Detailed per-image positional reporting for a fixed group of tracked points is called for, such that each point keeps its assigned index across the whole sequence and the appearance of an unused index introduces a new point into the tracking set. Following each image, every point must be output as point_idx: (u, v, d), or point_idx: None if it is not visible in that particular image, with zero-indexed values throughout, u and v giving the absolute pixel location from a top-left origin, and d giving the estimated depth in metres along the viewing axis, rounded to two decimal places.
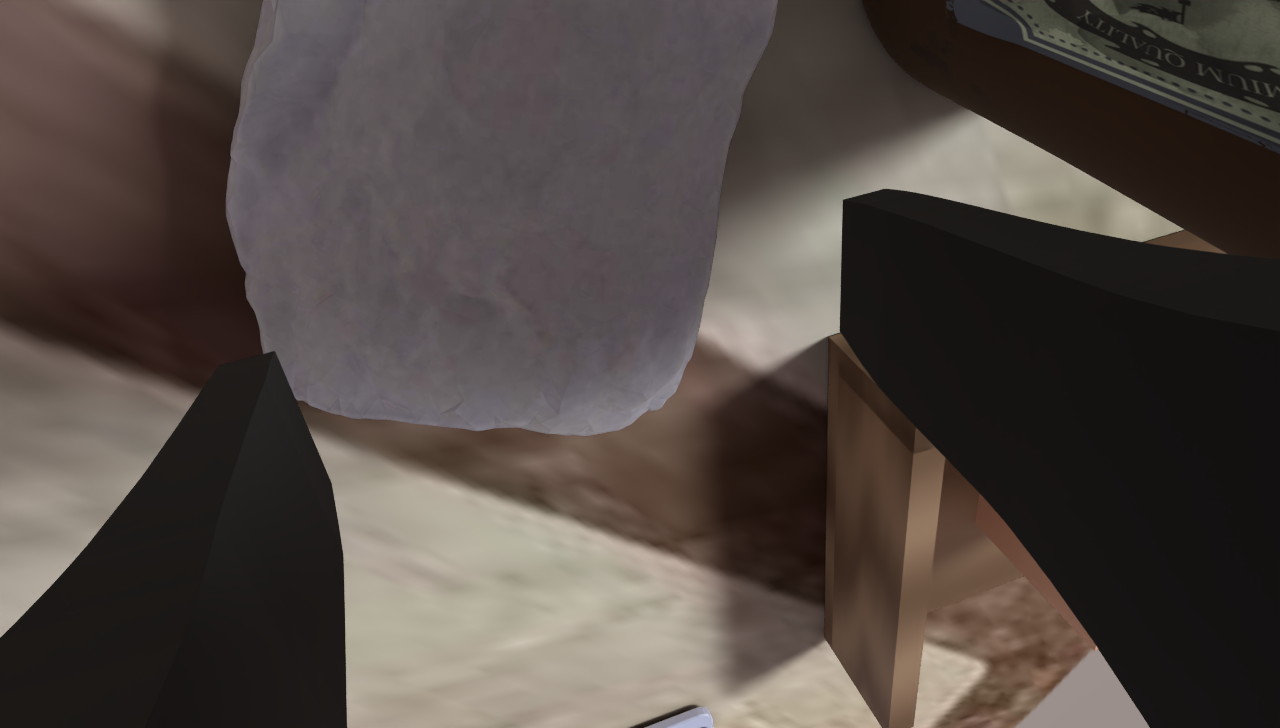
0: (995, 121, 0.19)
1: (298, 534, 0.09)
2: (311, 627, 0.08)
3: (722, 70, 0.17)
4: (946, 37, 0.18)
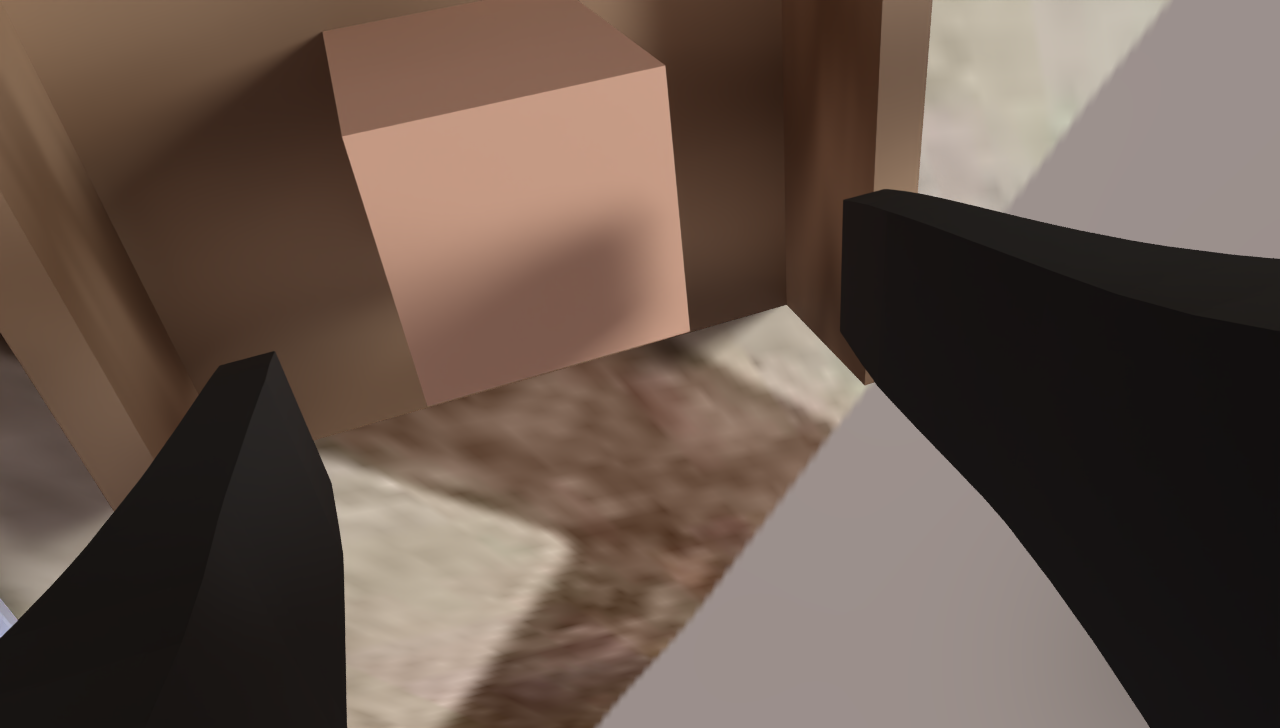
0: None
1: (298, 534, 0.09)
2: (311, 627, 0.08)
3: None
4: None
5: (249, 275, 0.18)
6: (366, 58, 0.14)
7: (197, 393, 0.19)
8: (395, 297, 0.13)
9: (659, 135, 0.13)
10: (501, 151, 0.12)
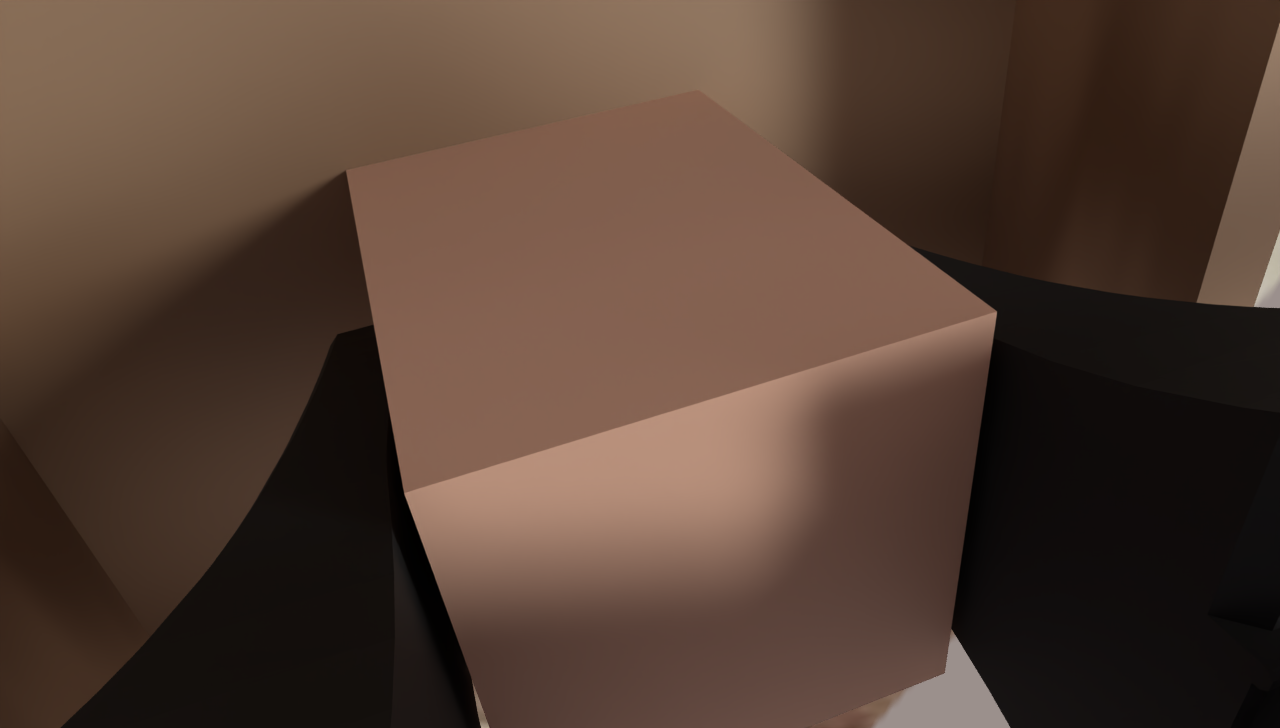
0: None
1: None
2: None
3: None
4: None
5: (236, 505, 0.12)
6: (424, 244, 0.09)
7: None
8: (488, 711, 0.07)
9: (962, 419, 0.07)
10: (696, 477, 0.07)
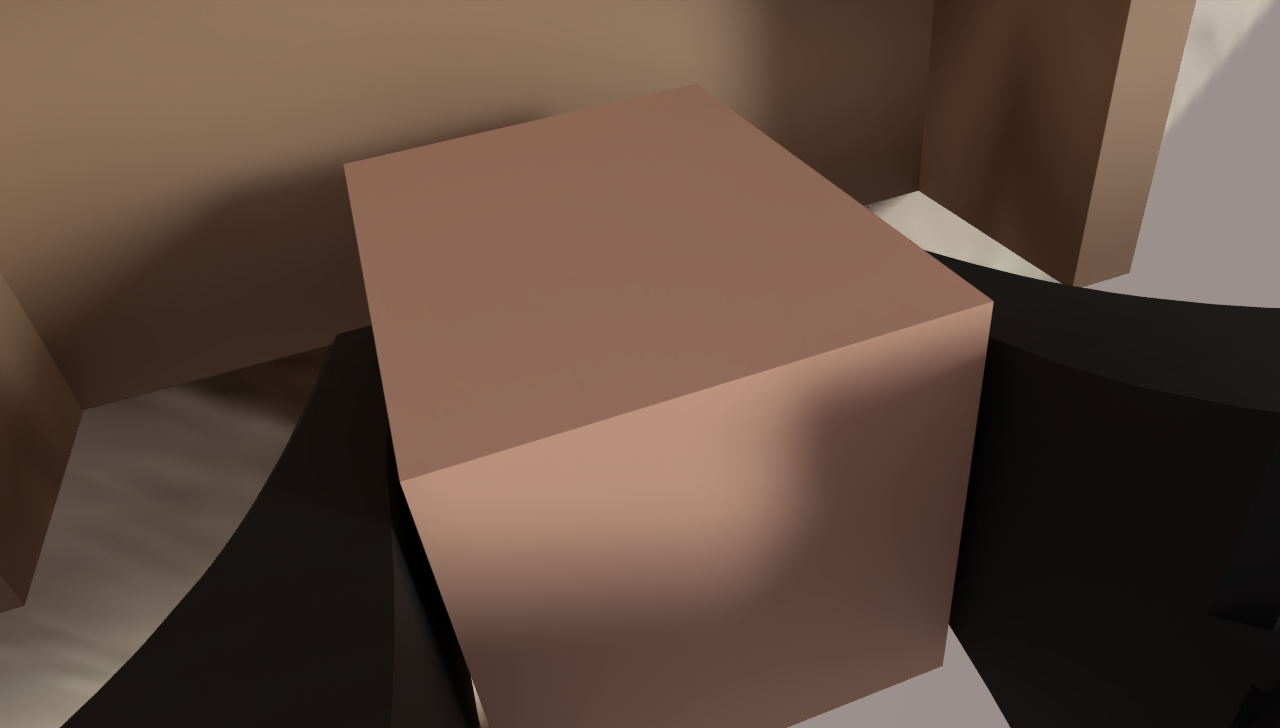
0: None
1: None
2: None
3: None
4: None
5: (82, 85, 0.11)
6: (421, 236, 0.09)
7: (10, 290, 0.12)
8: (485, 702, 0.07)
9: (959, 409, 0.07)
10: (692, 468, 0.07)
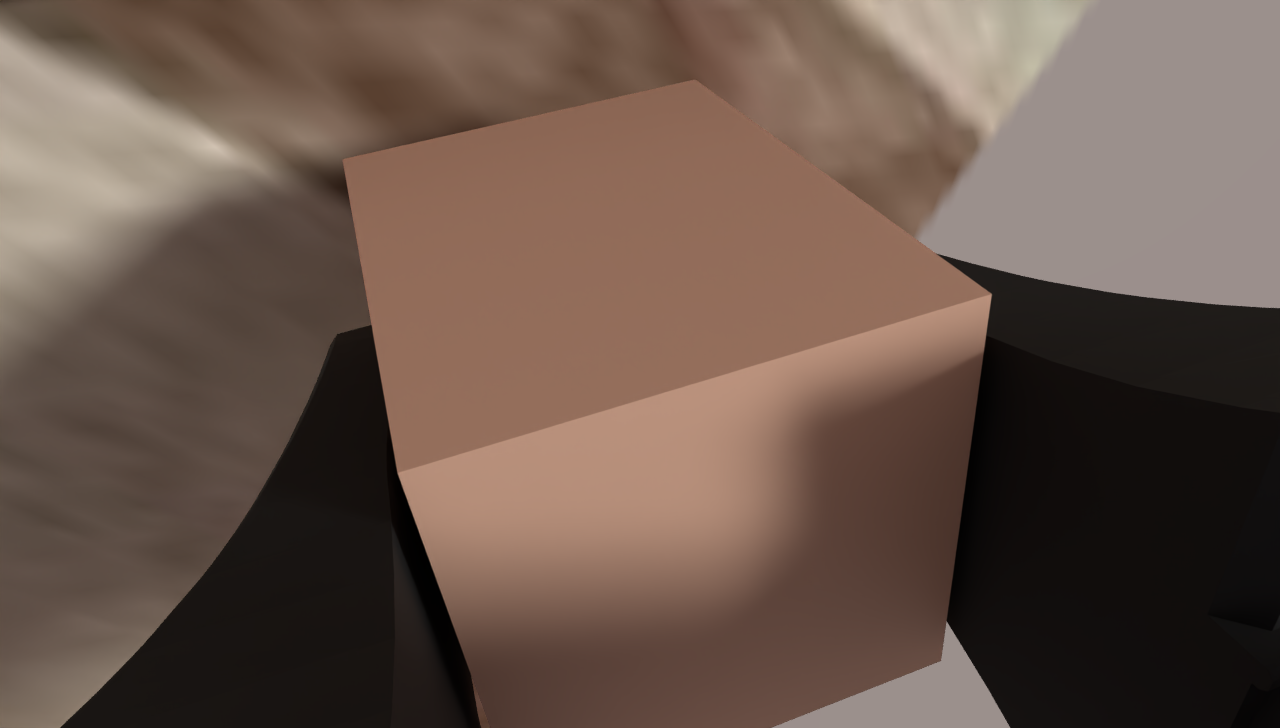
0: None
1: None
2: None
3: None
4: None
5: None
6: (420, 230, 0.09)
7: None
8: (483, 696, 0.07)
9: (957, 403, 0.07)
10: (691, 459, 0.07)
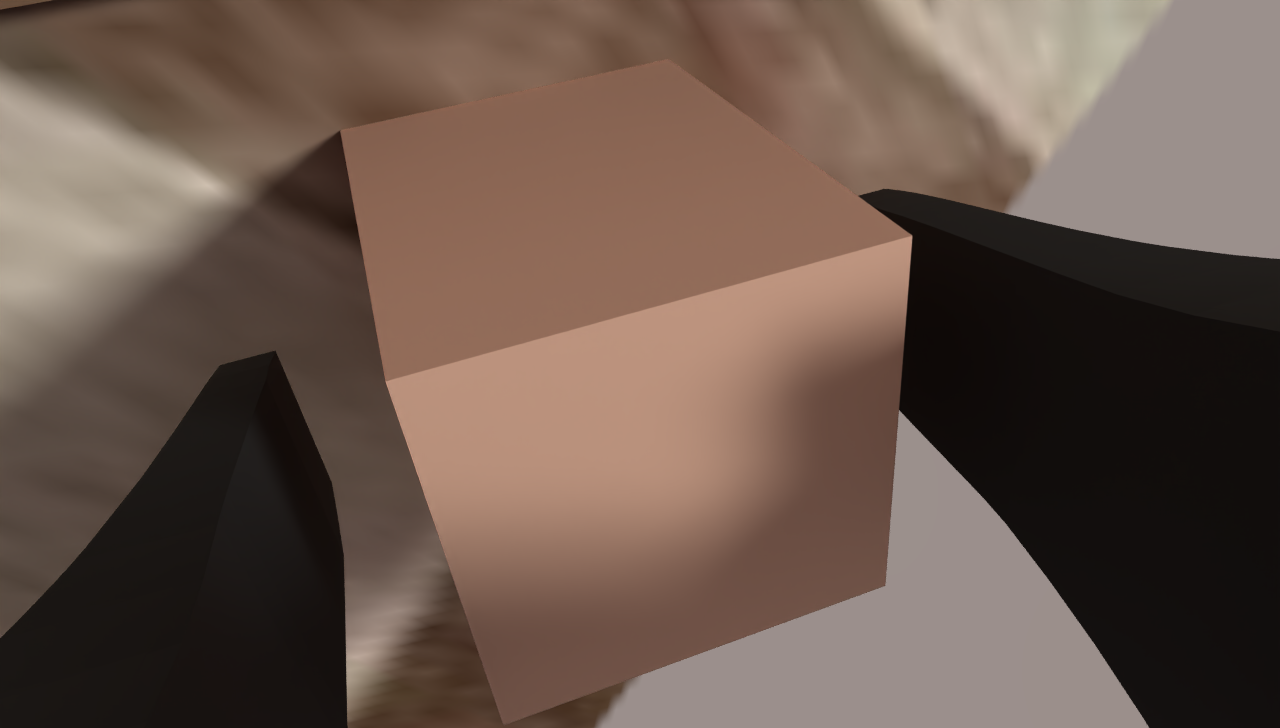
0: None
1: (298, 534, 0.09)
2: (311, 627, 0.08)
3: None
4: None
5: None
6: (410, 188, 0.10)
7: None
8: (463, 595, 0.08)
9: (886, 336, 0.08)
10: (644, 379, 0.07)
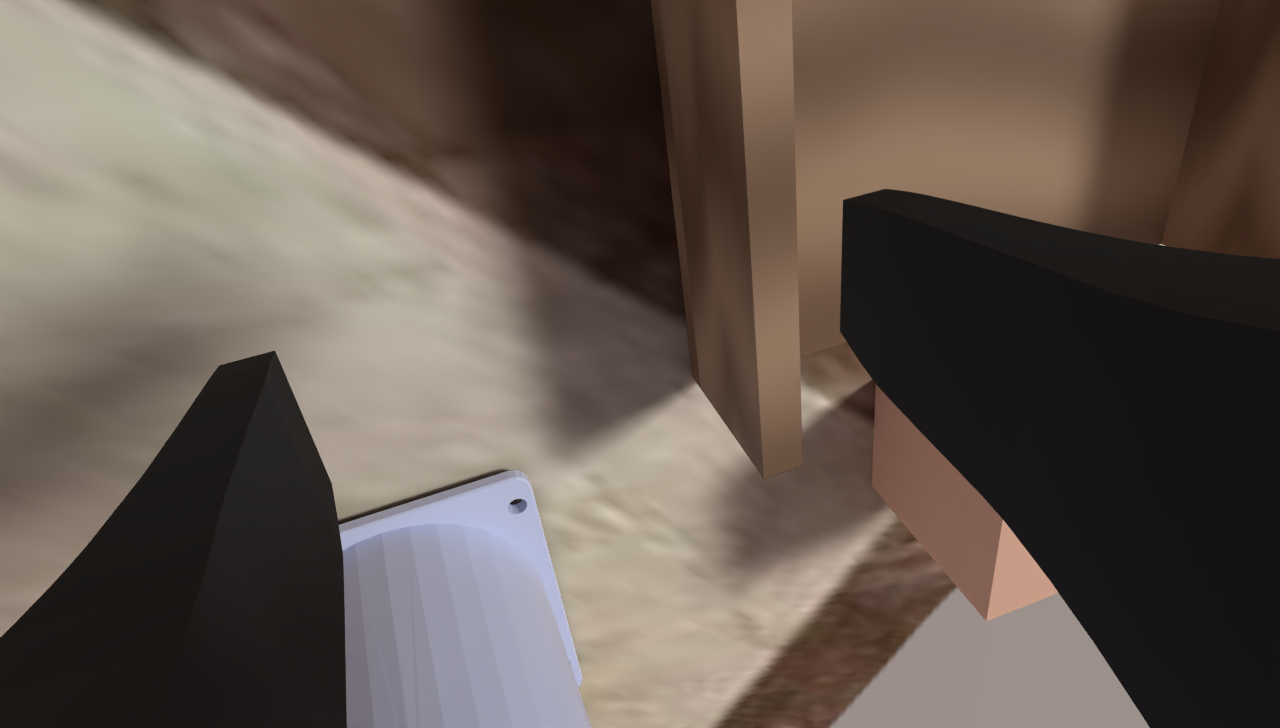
0: None
1: (298, 534, 0.09)
2: (311, 627, 0.08)
3: None
4: None
5: None
6: None
7: None
8: (995, 571, 0.23)
9: None
10: None
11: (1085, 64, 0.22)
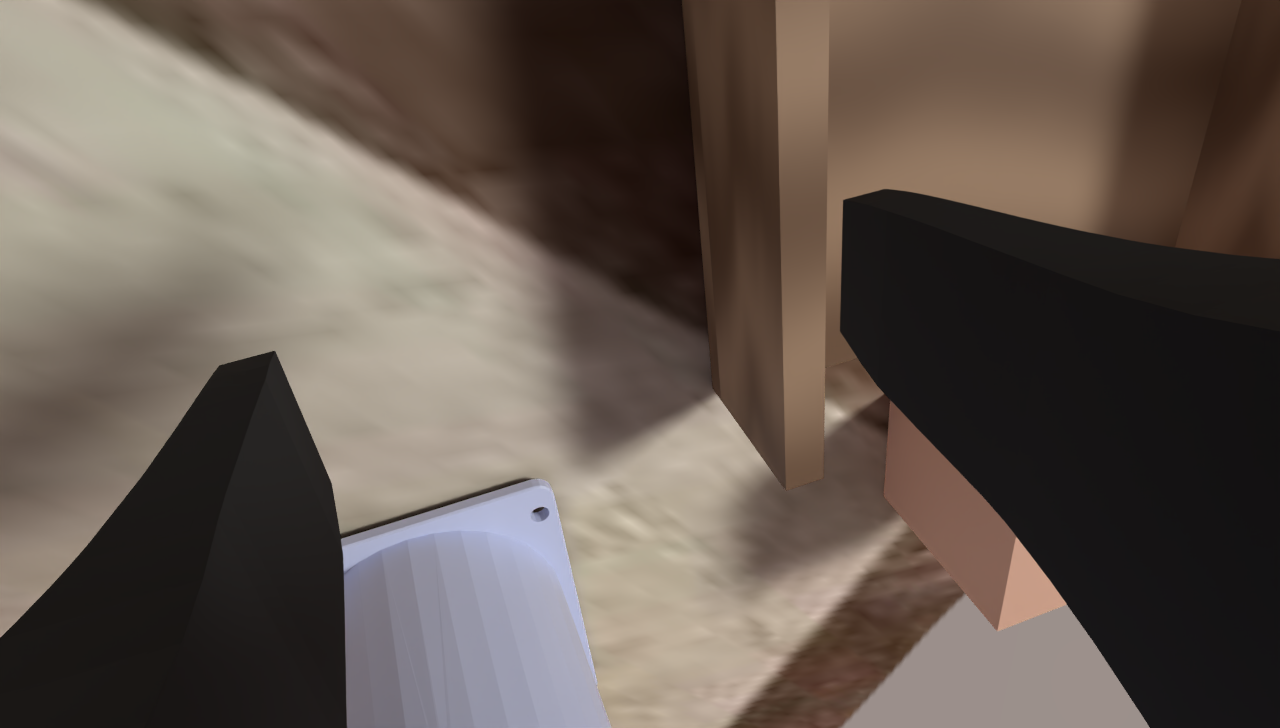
0: None
1: (298, 534, 0.09)
2: (311, 627, 0.08)
3: None
4: None
5: None
6: None
7: None
8: (1007, 583, 0.24)
9: None
10: None
11: (1102, 87, 0.23)
